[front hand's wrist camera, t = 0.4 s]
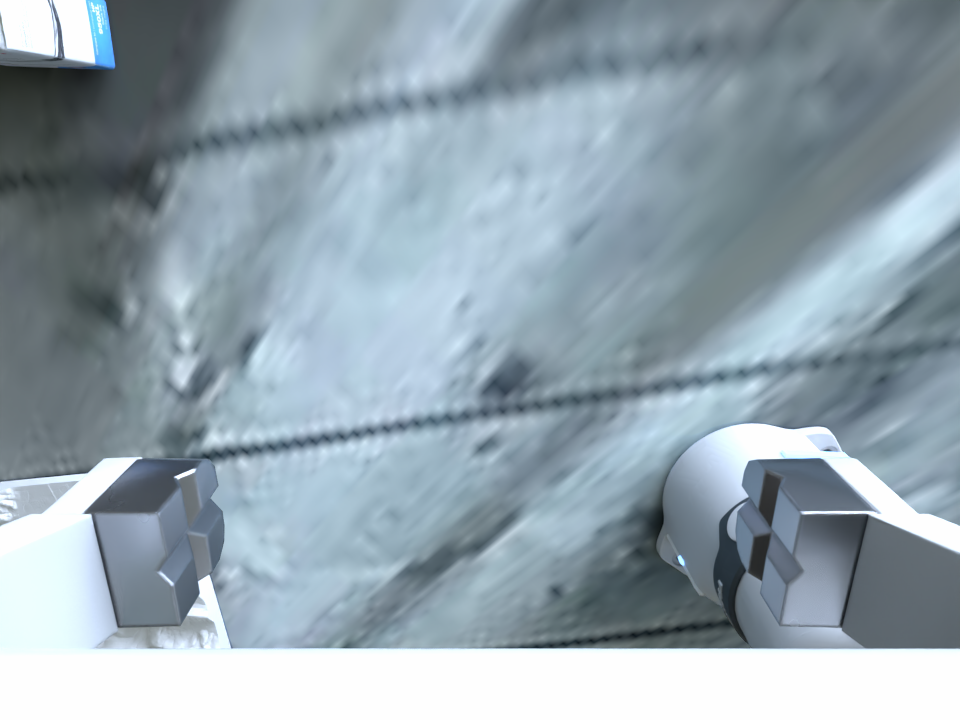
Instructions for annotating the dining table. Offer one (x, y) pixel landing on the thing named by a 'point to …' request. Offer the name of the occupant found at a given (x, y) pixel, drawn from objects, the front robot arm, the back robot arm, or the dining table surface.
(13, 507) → the relief map
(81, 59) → the ink box
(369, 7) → the dining table surface
